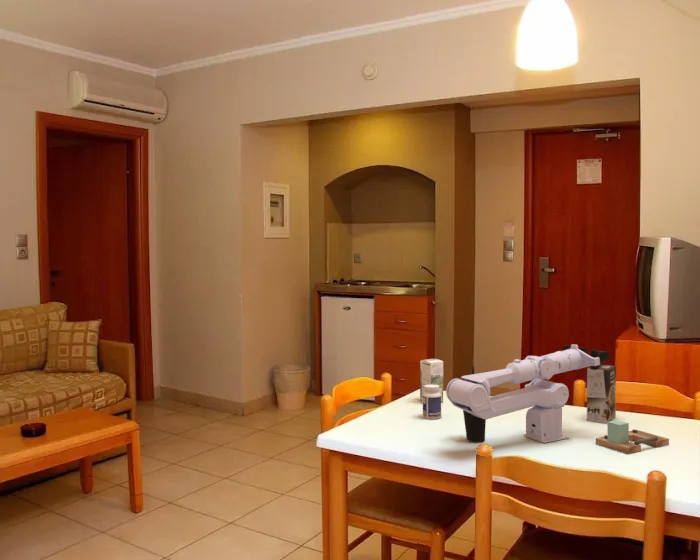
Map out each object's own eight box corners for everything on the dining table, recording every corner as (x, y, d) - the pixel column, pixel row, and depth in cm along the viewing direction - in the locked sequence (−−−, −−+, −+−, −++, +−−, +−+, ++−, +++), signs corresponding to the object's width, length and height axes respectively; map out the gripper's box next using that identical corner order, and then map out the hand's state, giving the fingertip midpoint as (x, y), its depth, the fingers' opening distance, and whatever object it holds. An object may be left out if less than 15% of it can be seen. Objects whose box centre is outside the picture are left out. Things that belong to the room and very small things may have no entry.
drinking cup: (456, 438, 179) (453, 366, 179) (479, 435, 182) (476, 363, 182) (471, 444, 172) (468, 369, 172) (495, 440, 175) (492, 366, 175)
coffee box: (608, 424, 192) (608, 369, 191) (586, 420, 195) (586, 367, 195) (616, 417, 199) (616, 365, 198) (595, 414, 203) (595, 363, 202)
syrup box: (432, 399, 226) (432, 358, 226) (443, 402, 221) (443, 360, 221) (419, 401, 223) (419, 359, 223) (430, 404, 218) (430, 362, 218)
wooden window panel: (627, 454, 163) (627, 444, 163) (595, 444, 172) (595, 434, 172) (668, 444, 171) (669, 434, 170) (636, 435, 179) (636, 426, 179)
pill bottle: (444, 416, 202) (444, 384, 202) (436, 420, 198) (436, 388, 197) (427, 414, 206) (427, 383, 205) (419, 418, 201) (419, 386, 200)
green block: (619, 444, 166) (619, 424, 166) (607, 440, 169) (607, 421, 169) (628, 442, 168) (628, 423, 168) (616, 438, 171) (617, 420, 171)
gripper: (582, 350, 174) (617, 342, 180) (542, 344, 186) (576, 336, 193) (584, 376, 174) (618, 367, 181) (544, 368, 187) (578, 360, 193)
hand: (597, 353), depth 187 cm, fingers open, 7 cm apart
